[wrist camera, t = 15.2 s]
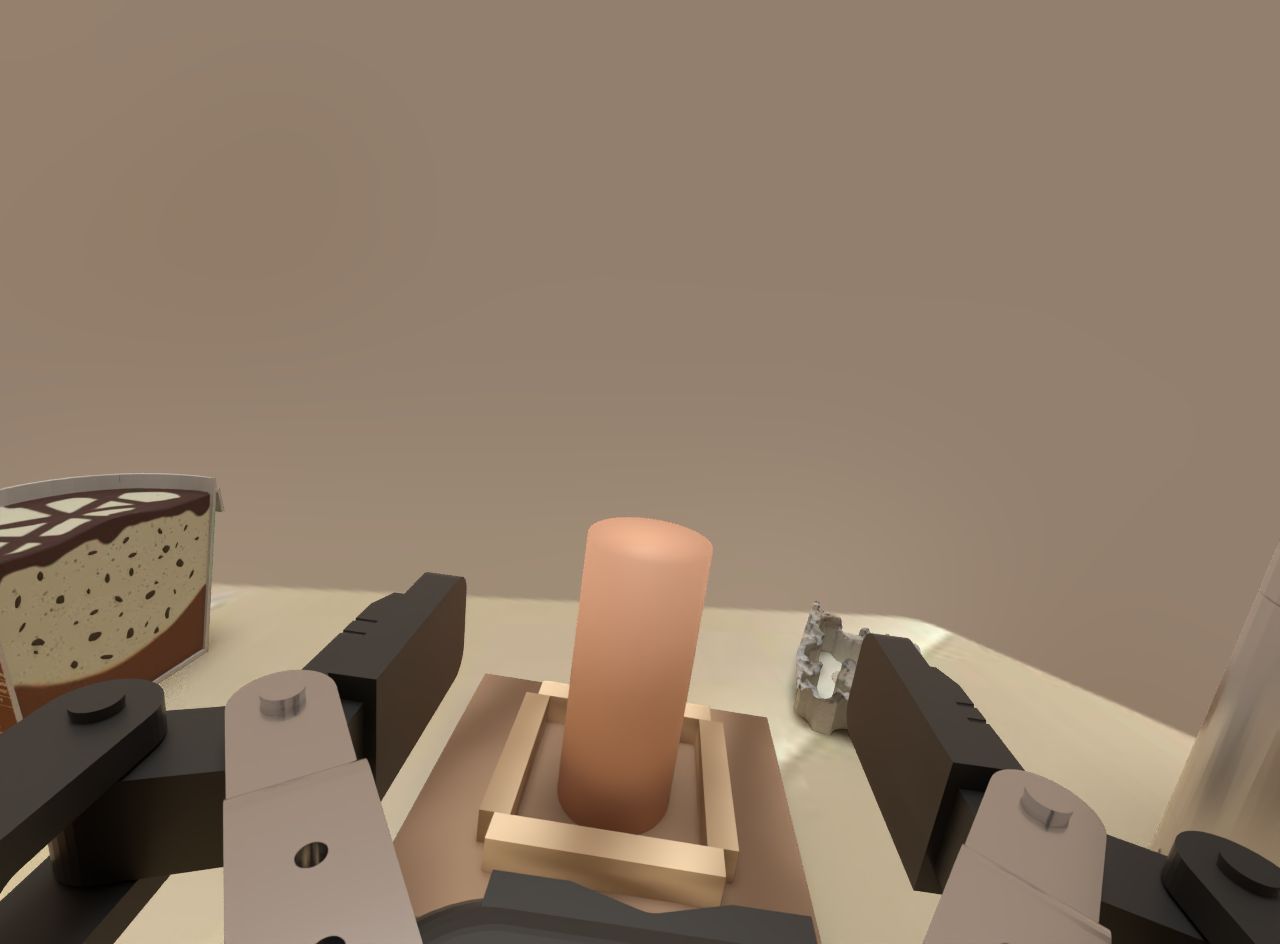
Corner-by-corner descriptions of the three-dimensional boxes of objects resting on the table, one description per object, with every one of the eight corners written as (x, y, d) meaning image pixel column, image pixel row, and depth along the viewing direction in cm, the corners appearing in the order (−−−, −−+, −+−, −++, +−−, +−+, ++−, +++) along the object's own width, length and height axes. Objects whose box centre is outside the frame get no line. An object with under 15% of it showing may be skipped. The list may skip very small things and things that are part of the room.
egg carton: (800, 646, 45) (811, 596, 44) (907, 678, 42) (921, 625, 41) (779, 724, 35) (793, 661, 34) (917, 771, 32) (935, 705, 32)
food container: (130, 620, 36) (118, 458, 33) (228, 637, 35) (223, 475, 33) (-156, 766, 24) (-206, 528, 21) (-12, 794, 23) (-46, 557, 21)
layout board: (763, 733, 34) (772, 694, 33) (825, 1007, 20) (841, 950, 19) (483, 689, 34) (487, 649, 33) (356, 929, 20) (358, 870, 20)
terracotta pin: (669, 759, 29) (709, 527, 26) (668, 846, 24) (717, 572, 21) (567, 743, 29) (596, 510, 26) (546, 827, 24) (579, 552, 21)
